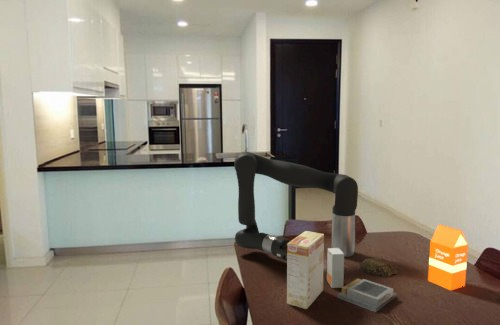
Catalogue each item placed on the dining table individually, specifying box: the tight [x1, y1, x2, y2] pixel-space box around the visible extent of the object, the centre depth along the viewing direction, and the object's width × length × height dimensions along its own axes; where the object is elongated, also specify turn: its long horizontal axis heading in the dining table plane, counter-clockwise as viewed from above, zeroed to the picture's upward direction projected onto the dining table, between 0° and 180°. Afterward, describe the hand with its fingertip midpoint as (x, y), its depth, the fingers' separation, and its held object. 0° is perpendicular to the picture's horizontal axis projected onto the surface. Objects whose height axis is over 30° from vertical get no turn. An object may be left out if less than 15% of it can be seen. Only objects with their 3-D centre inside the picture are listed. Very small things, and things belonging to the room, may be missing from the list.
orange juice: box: [427, 224, 469, 291], centre depth 131 cm, size 8×9×20 cm
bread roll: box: [359, 257, 398, 278], centre depth 143 cm, size 13×12×5 cm
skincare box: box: [326, 247, 345, 289], centre depth 130 cm, size 6×4×12 cm
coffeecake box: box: [286, 230, 325, 310], centre depth 121 cm, size 15×7×20 cm, turn 150°
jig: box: [337, 277, 397, 313], centre depth 121 cm, size 14×13×3 cm
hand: (310, 256), depth 137 cm, fingers open, 8 cm apart
